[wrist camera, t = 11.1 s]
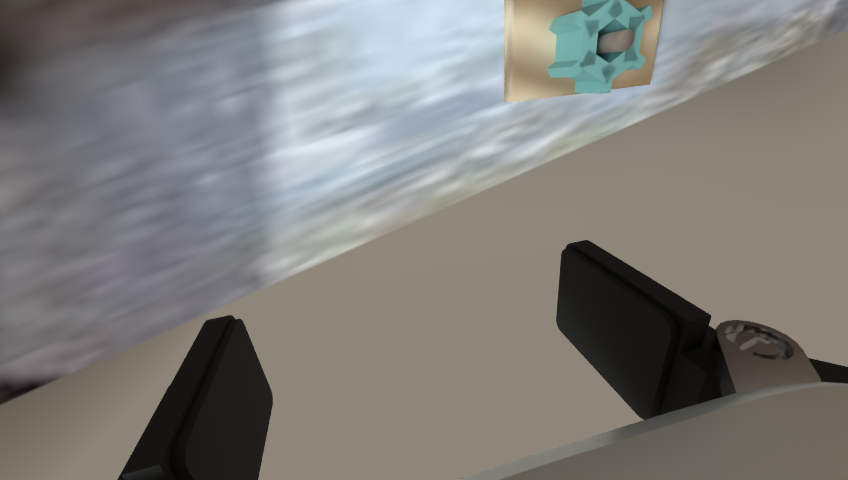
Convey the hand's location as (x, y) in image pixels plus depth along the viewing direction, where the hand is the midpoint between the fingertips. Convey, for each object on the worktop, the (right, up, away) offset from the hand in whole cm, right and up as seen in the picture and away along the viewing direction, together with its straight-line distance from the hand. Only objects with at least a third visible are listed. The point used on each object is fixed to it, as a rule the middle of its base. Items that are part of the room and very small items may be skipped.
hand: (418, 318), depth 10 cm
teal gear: (+16, +21, +24) cm, 36 cm away
